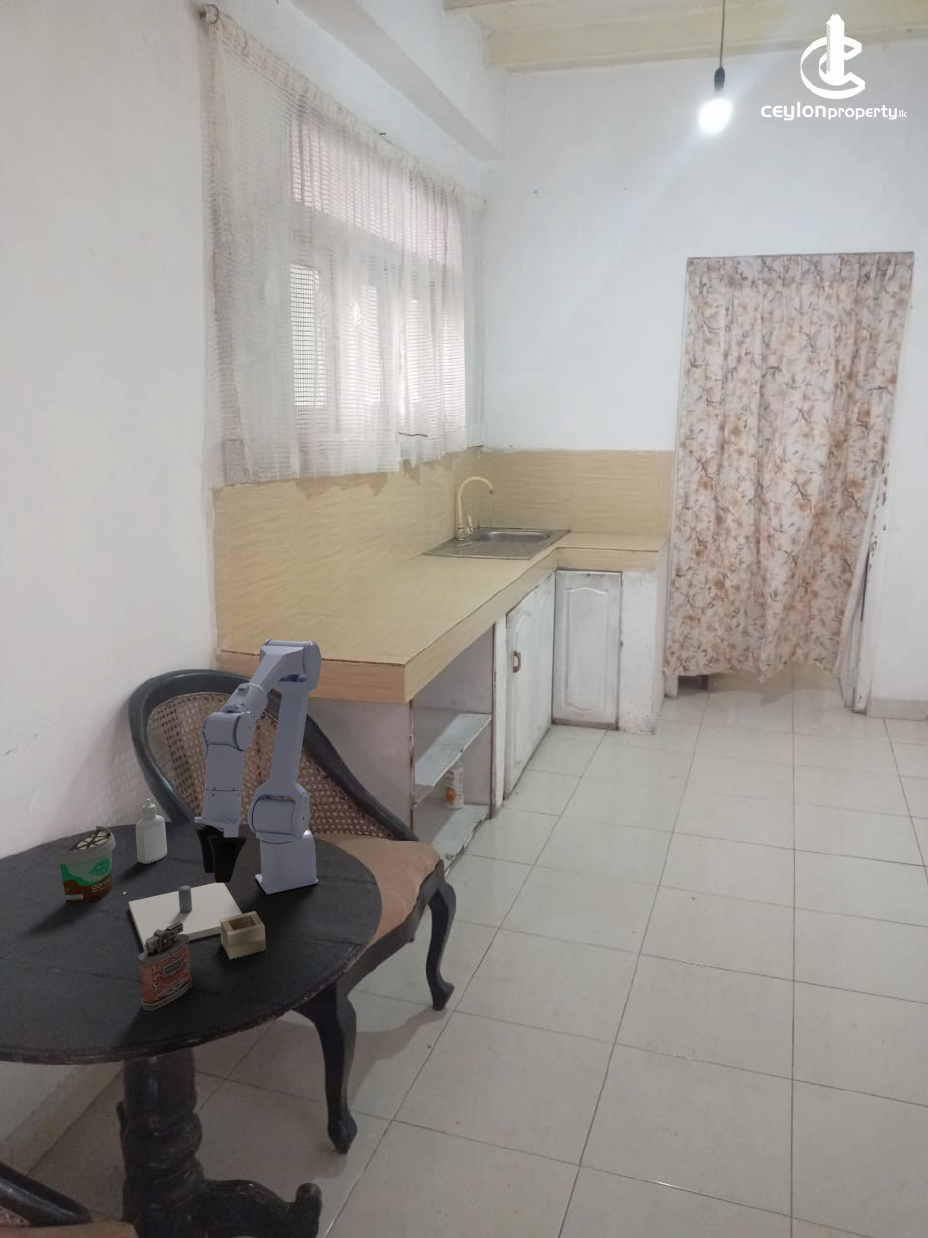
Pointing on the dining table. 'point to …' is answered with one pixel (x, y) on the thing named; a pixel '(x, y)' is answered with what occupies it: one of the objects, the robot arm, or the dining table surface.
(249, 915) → the maple sleeve
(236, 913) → the post board
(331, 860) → the dining table surface
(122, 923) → the dining table surface
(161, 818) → the eye dropper bottle
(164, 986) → the lighter
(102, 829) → the food container
